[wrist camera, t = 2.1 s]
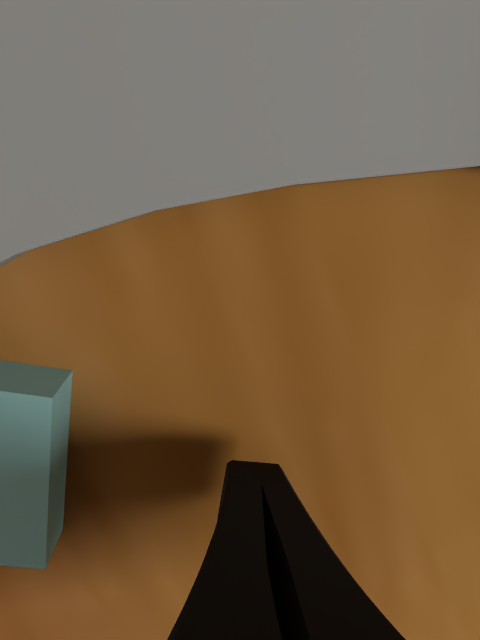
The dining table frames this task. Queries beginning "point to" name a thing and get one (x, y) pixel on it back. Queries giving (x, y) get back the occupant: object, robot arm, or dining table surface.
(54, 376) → the slat
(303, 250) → the dining table surface
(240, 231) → the dining table surface
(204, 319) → the dining table surface
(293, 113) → the kitchen cleaver
